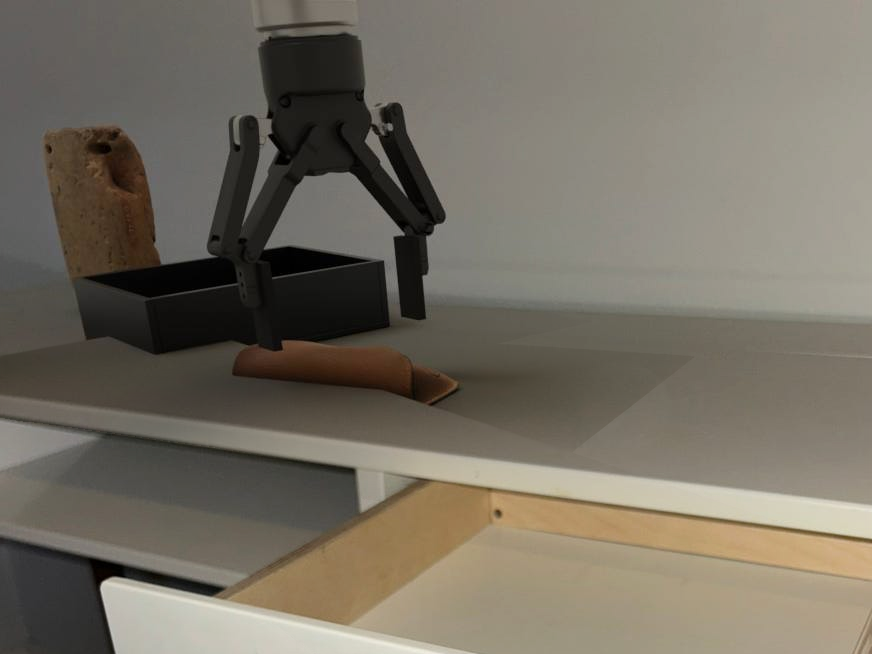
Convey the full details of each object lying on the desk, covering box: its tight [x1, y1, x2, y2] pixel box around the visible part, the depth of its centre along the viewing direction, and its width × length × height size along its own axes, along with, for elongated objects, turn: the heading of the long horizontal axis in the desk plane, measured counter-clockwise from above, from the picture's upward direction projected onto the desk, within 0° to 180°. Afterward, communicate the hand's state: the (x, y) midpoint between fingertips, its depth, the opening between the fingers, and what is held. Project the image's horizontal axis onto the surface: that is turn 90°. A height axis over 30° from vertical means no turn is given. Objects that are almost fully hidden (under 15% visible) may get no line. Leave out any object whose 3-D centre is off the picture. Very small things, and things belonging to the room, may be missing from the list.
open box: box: [72, 244, 391, 356], centre depth 111 cm, size 26×20×7 cm
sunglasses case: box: [231, 340, 460, 406], centre depth 88 cm, size 18×7×7 cm, turn 63°
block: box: [42, 124, 162, 291], centre depth 123 cm, size 11×8×20 cm
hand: (345, 333), depth 87 cm, fingers open, 13 cm apart
